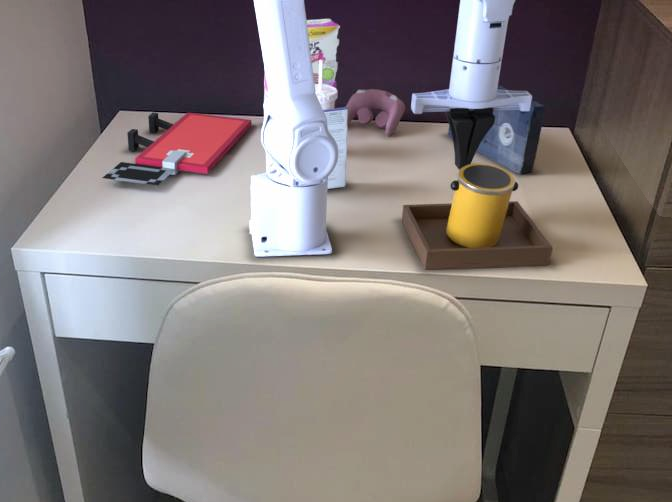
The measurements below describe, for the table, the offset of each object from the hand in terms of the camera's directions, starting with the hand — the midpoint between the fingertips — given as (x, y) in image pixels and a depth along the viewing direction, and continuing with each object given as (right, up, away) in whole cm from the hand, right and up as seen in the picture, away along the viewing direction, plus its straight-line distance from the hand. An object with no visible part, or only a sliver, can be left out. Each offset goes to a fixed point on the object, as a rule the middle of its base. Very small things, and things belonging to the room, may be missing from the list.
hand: (462, 166), depth 107 cm
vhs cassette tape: (+9, +8, +22) cm, 25 cm away
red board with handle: (-39, +7, +22) cm, 45 cm away
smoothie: (-18, +7, +22) cm, 29 cm away
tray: (+1, -10, -3) cm, 11 cm away
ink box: (-20, -1, +10) cm, 22 cm away
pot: (+1, -6, -6) cm, 8 cm away
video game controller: (-8, +14, +32) cm, 36 cm away
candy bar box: (-20, +14, +32) cm, 40 cm away
